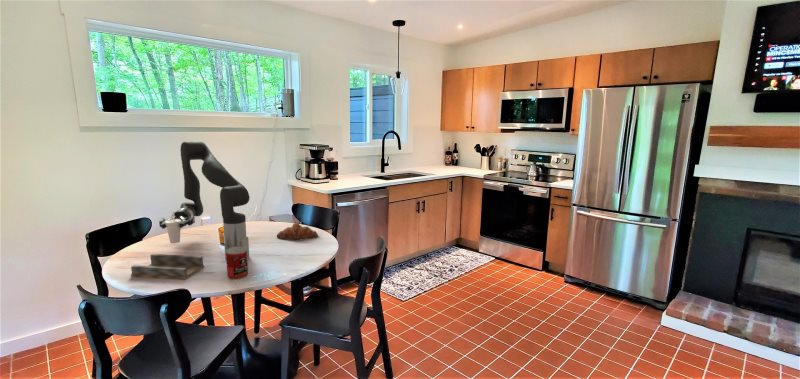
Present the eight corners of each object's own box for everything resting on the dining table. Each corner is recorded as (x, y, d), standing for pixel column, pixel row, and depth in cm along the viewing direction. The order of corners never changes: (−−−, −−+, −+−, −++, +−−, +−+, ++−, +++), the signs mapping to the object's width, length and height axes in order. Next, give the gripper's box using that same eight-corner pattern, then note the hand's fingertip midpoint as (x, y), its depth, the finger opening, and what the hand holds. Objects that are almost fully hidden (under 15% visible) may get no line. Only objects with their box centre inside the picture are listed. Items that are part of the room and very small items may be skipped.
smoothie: (175, 244, 163) (172, 213, 160) (163, 243, 164) (160, 212, 161) (186, 240, 169) (184, 210, 166) (174, 239, 170) (171, 209, 168)
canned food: (235, 280, 146) (233, 254, 144) (223, 276, 150) (221, 250, 148) (252, 274, 153) (251, 248, 151) (240, 270, 157) (238, 245, 155)
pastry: (300, 231, 215) (300, 218, 213) (319, 236, 206) (319, 222, 204) (275, 238, 201) (275, 223, 200) (294, 244, 192) (293, 229, 191)
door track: (204, 267, 159) (203, 256, 158) (184, 279, 146) (183, 267, 145) (154, 264, 160) (153, 253, 159) (131, 276, 147) (129, 264, 147)
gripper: (165, 209, 176) (152, 218, 160) (198, 208, 180) (189, 216, 164) (166, 225, 177) (153, 235, 161) (200, 223, 181) (190, 233, 165)
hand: (171, 226), depth 163 cm, fingers closed on smoothie, 6 cm apart
